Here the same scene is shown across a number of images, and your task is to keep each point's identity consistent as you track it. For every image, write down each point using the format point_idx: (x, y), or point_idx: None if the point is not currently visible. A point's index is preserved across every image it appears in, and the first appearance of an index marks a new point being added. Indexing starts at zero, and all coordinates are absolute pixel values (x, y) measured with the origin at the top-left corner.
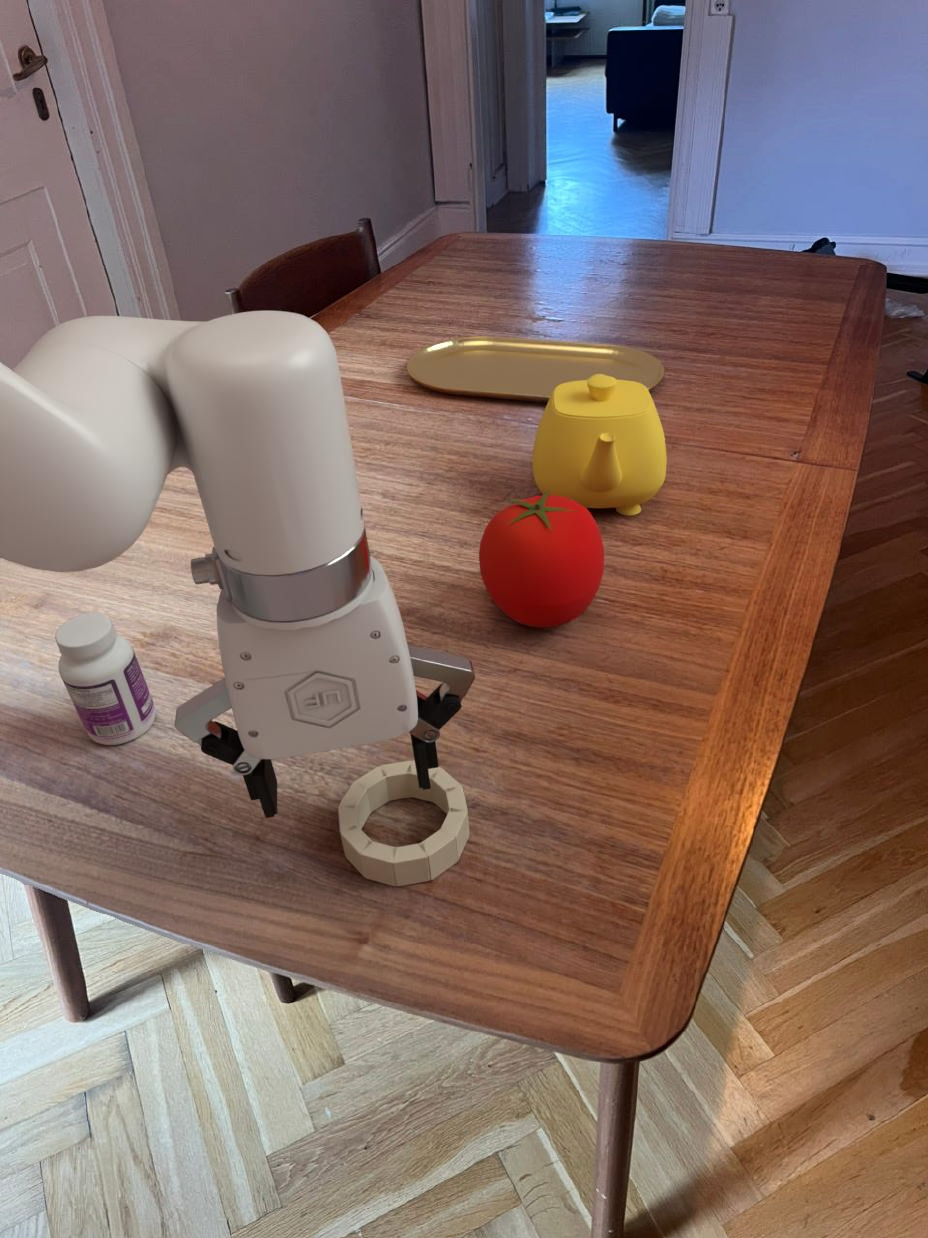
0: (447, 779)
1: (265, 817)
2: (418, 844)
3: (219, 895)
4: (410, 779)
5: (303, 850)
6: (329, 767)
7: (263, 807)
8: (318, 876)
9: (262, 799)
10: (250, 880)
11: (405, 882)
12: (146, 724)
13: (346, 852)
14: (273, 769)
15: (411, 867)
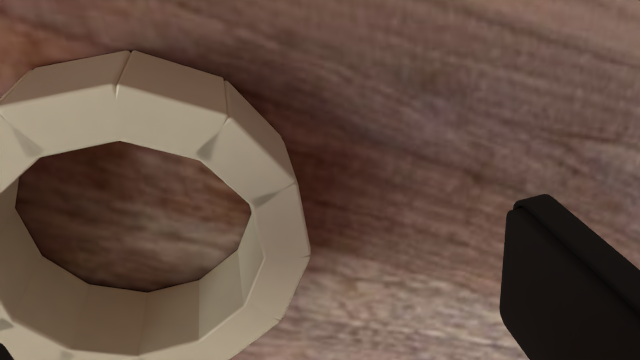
0: (18, 352)
1: (549, 195)
2: (43, 152)
3: (562, 34)
4: (138, 338)
5: (381, 152)
6: (339, 336)
7: (580, 225)
8: (341, 84)
9: (606, 253)
10: (495, 73)
11: (101, 57)
12: None
13: (278, 141)
14: (531, 357)
15: (63, 82)
